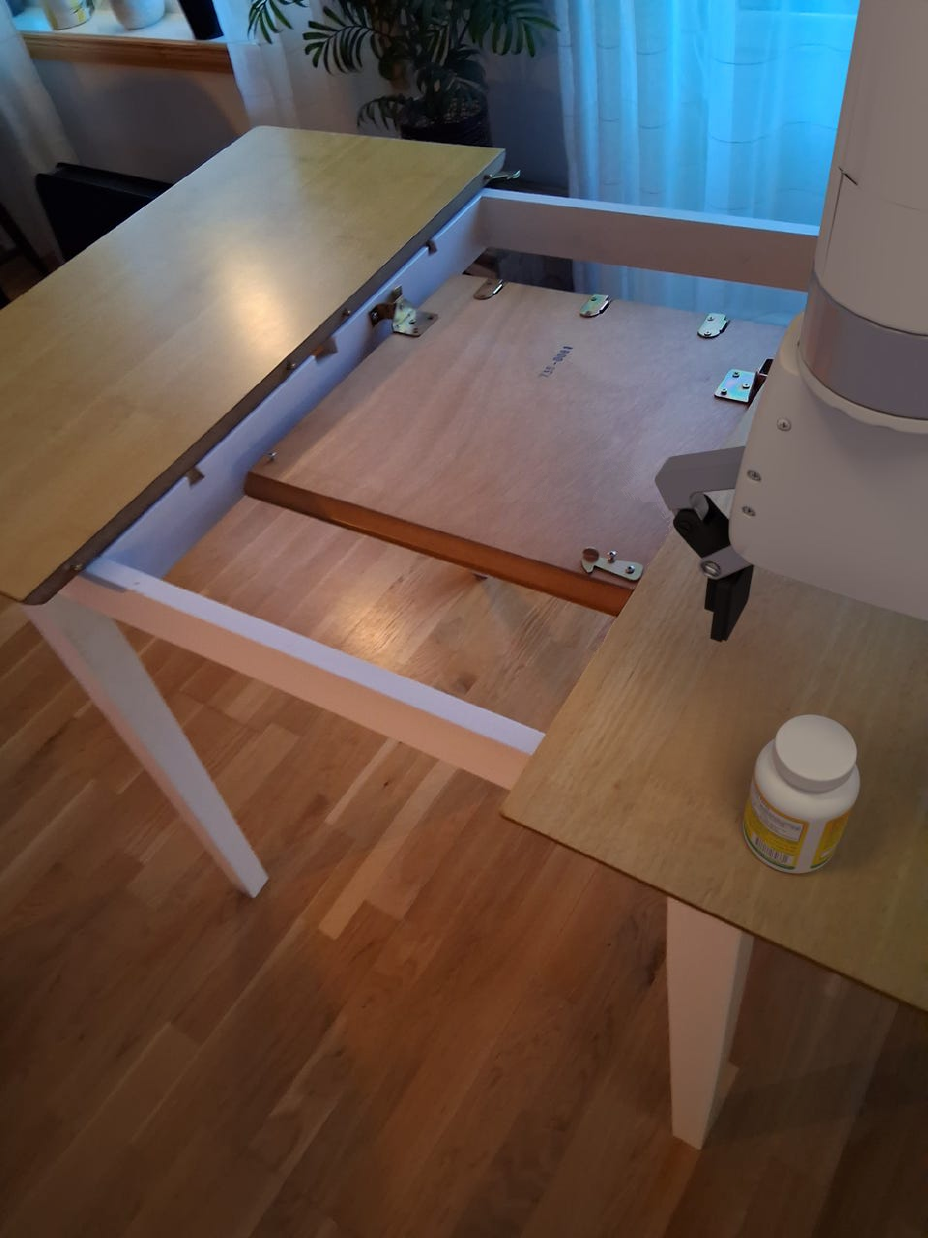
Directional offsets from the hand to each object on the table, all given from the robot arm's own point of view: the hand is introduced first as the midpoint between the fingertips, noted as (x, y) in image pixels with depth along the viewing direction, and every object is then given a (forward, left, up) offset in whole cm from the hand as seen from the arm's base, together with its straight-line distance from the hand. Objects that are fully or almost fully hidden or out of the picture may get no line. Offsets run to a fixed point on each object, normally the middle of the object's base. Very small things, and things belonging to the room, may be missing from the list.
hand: (831, 656), depth 42 cm
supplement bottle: (0, 0, -17) cm, 17 cm away
